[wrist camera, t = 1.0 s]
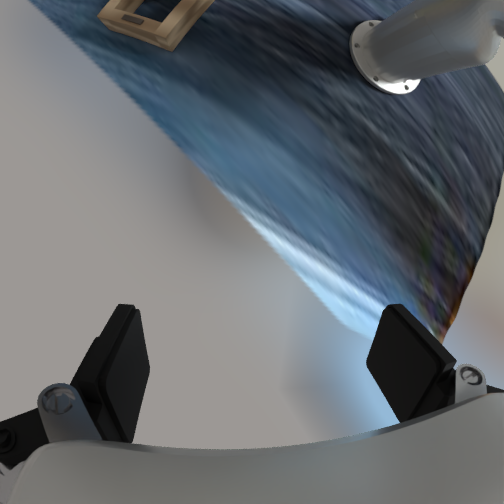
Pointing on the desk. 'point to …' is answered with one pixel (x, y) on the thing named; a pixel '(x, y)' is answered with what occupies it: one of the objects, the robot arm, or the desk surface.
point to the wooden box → (153, 21)
